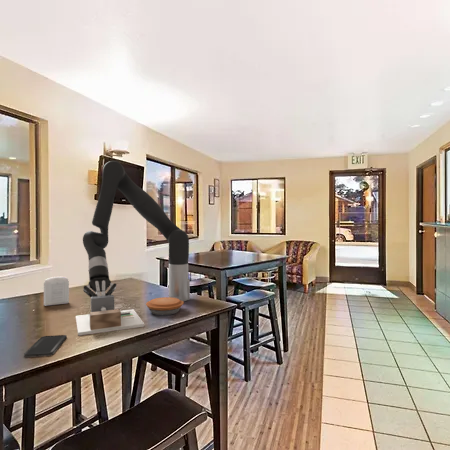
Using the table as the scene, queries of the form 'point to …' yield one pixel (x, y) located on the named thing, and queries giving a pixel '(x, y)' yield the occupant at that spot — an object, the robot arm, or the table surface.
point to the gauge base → (126, 323)
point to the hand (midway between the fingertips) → (101, 306)
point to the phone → (45, 346)
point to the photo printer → (56, 291)
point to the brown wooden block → (105, 319)
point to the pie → (164, 305)
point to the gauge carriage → (103, 303)
